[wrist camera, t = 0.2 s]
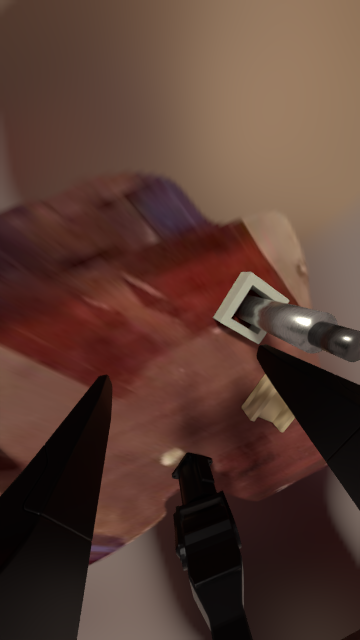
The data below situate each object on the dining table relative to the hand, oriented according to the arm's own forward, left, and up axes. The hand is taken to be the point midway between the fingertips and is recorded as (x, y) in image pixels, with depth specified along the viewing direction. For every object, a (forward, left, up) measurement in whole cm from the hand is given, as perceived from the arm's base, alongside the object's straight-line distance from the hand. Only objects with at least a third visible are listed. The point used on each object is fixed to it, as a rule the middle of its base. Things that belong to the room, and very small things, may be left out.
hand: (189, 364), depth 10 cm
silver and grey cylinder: (+6, -11, -15) cm, 20 cm away
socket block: (+6, -11, -15) cm, 20 cm away
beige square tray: (-6, -27, -15) cm, 32 cm away
